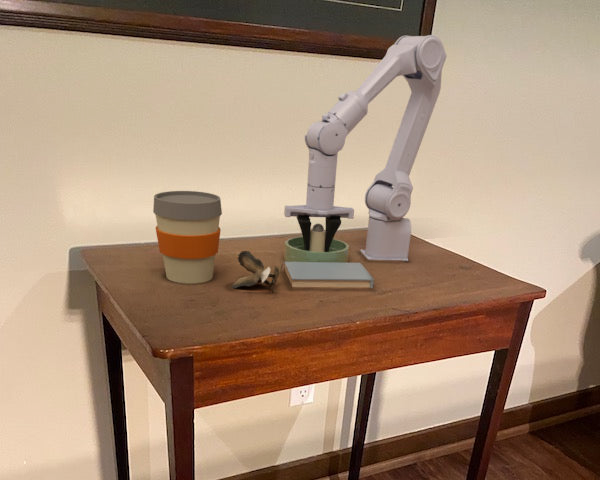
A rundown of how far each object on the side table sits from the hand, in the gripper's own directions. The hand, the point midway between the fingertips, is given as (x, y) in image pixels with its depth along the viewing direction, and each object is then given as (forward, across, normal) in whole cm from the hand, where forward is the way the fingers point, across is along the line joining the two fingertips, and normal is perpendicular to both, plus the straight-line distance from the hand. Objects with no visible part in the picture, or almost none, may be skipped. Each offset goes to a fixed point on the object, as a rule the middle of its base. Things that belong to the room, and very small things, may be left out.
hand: (316, 251), depth 133 cm
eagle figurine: (+3, -15, -18) cm, 24 cm away
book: (+2, 0, -13) cm, 13 cm away
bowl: (+2, 0, 0) cm, 2 cm away
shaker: (+2, 0, 0) cm, 2 cm away
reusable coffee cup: (+3, -27, -11) cm, 29 cm away
